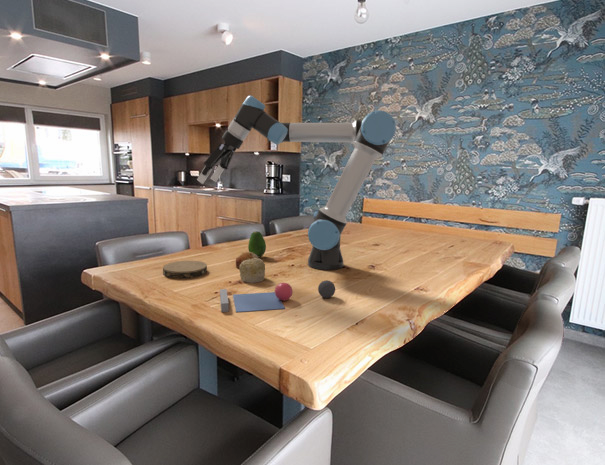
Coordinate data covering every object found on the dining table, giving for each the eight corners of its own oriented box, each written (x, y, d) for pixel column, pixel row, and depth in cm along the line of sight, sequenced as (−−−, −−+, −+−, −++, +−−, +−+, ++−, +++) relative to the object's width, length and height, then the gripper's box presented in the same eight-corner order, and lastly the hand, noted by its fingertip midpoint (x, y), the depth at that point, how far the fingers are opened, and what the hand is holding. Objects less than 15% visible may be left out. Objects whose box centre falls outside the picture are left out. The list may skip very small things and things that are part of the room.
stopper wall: (226, 296, 111) (226, 289, 110) (228, 311, 99) (228, 303, 99) (220, 297, 110) (219, 289, 110) (221, 311, 99) (221, 303, 98)
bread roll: (260, 273, 149) (262, 255, 151) (255, 269, 139) (257, 249, 141) (237, 272, 150) (240, 253, 152) (231, 268, 140) (233, 248, 142)
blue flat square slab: (276, 292, 116) (276, 292, 116) (284, 308, 102) (284, 308, 102) (232, 295, 112) (232, 294, 112) (236, 312, 99) (236, 311, 99)
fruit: (264, 259, 157) (265, 233, 155) (246, 259, 158) (247, 232, 155) (266, 255, 165) (267, 230, 163) (249, 254, 165) (249, 229, 163)
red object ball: (290, 296, 113) (290, 279, 112) (294, 302, 107) (294, 285, 107) (273, 297, 111) (273, 280, 110) (276, 303, 106) (276, 286, 105)
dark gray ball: (331, 293, 116) (332, 277, 115) (337, 299, 111) (338, 283, 110) (315, 294, 115) (316, 278, 114) (320, 300, 110) (321, 283, 109)
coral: (253, 284, 123) (253, 263, 122) (234, 279, 128) (234, 259, 127) (270, 278, 130) (270, 258, 129) (251, 273, 136) (251, 254, 134)
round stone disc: (194, 265, 146) (194, 258, 145) (214, 274, 135) (214, 266, 134) (156, 272, 135) (155, 264, 134) (174, 282, 124) (174, 274, 123)
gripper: (237, 132, 146) (210, 174, 151) (215, 125, 122) (185, 176, 126) (252, 142, 146) (225, 184, 151) (233, 138, 122) (202, 188, 126)
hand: (206, 181), depth 139 cm, fingers open, 13 cm apart
